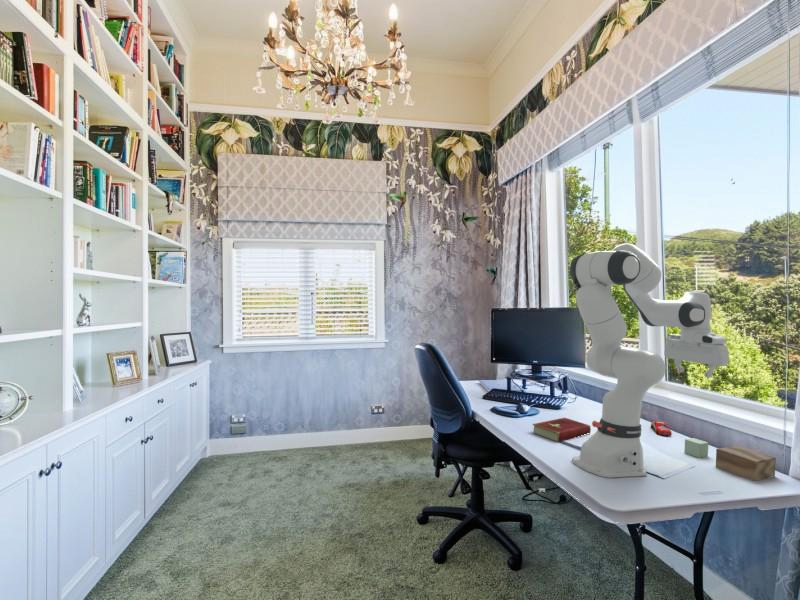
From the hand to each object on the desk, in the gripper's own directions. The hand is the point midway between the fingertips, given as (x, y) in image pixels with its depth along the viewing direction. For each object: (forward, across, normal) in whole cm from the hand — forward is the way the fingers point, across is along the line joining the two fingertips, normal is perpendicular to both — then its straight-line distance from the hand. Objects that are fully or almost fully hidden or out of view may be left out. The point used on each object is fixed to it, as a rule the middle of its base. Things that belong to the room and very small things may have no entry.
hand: (694, 374), depth 146 cm
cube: (+29, +1, +1) cm, 29 cm away
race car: (+30, -21, +14) cm, 39 cm away
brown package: (+29, +16, +1) cm, 33 cm away
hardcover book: (+29, -31, -31) cm, 52 cm away
